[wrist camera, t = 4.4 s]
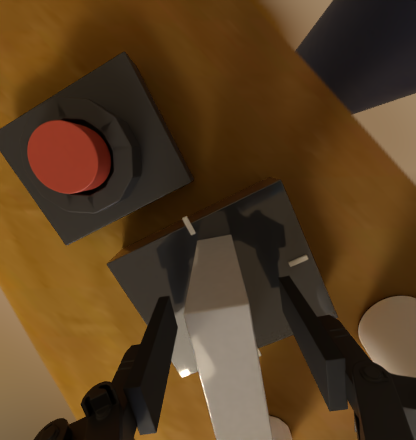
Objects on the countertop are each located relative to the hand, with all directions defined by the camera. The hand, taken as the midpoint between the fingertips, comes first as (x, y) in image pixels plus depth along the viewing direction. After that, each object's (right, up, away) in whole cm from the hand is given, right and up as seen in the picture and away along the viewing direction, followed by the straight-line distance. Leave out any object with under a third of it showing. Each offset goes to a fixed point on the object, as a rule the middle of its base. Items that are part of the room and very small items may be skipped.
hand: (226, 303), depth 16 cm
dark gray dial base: (0, +1, +4) cm, 4 cm away
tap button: (-9, +11, +2) cm, 14 cm away
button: (-9, +10, -1) cm, 14 cm away
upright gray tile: (0, 0, +1) cm, 1 cm away
